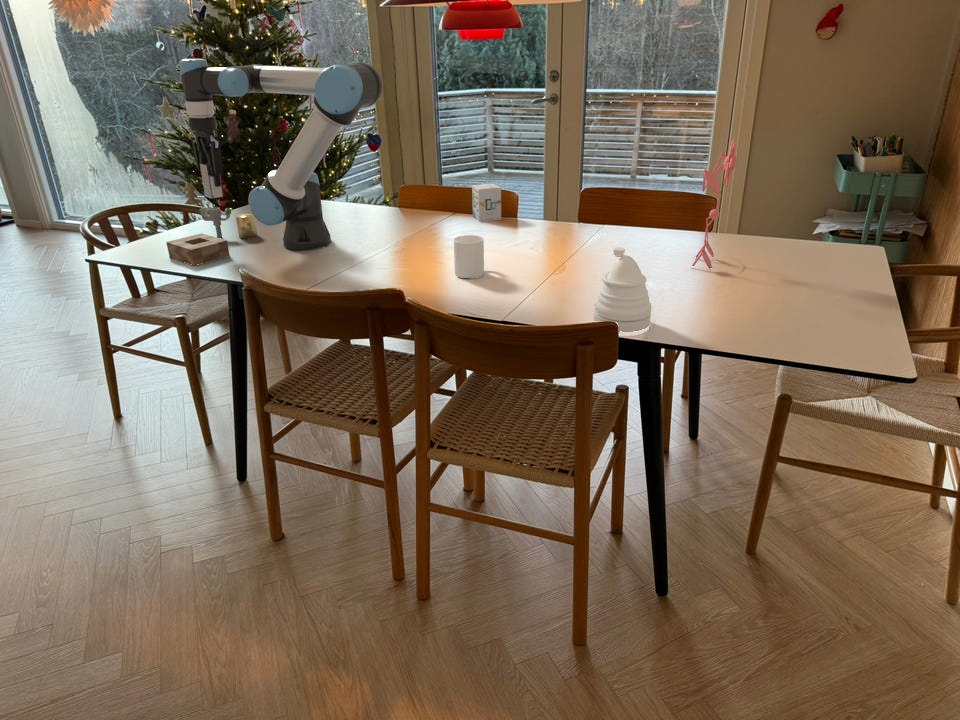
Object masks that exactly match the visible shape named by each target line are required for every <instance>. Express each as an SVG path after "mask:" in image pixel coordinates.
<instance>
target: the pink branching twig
mask: <svg viewBox="0 0 960 720" xmlns="http://www.w3.org/2000/svg"><path fill="white" fill-rule="evenodd" d="M736 150H737V140H735V138H733V139H732V140H731V143H730V145H729V150H728V155H726V154H725V153H724V151H721V152H720V155H719V157H718V159H717V162H716V163H715V166H714V168H713V170H712V172H711V171H709V170H708V169H707V168H704V170H703V179H702V189H701V190H702V192H703V193H704V192H705V190H706V189H707V186H709V188H710V190H713V192H714V193H716V194H717V195H718V197H717V203H716V207H715V208H712V209H711V210H710V211H709V214H708V215H709V217H707V218H706V227H705V230H704V231H705V234H704V240H703V245H702V247H700V250H699V251H698V253H697V254H696V255H695V257H697V258H696V259H695V260H694V262H693V263H692V265H691V266H694V267H695V265H696V264H697V262H698V261H699V260H700V259H701V257H702V258H703V261H704V262H705V264H706V266H707V267H708V269H709V270H710V268H712V269H713V265H712V261H711V259H710V257H714V258H715V254H714V251H713V248H712V247H711V245H710V243H709V230H708V229H709V226H710V225H711V224H712V222H713V221H714V220H716V219H718V218H719V217H720V211H719V210H718V209H719V205H720V201H721V198H722V192H721V190H720V185H719V184H720V183H719V182H718V179H717V178H716V175H717V174H718V173H719V172H720V170H721V169H722V168H723V170H724V175H723V176H724V177H723V185H724V186H725V187H726V188H728V186H729V184H730V179H731V174H732V172H733V171H734V170H735V168H736V165H737V160H738V157H737V156H736V155H735V154H736ZM721 159H723V160H724V161H723V163H721V165H720V166H719V163H720V161H721ZM718 166H719V167H718ZM710 219H711V220H710ZM709 220H710V222H709ZM706 250H707V251H706ZM708 253H709V255H710V257H709V255H708Z"/></svg>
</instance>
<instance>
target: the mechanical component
mask: <svg viewBox="0 0 960 720" xmlns="http://www.w3.org/2000/svg"><path fill="white" fill-rule="evenodd" d="M198 214H200V216H201V219H202V220H203V221H205V222H206V221H207V222H212V223H213V224H212V225H213V226H214V227H215V232H216V238H221V239H223V235H222V234H223V232H222V228H221V226H222V222H221V221H223V222H225V221H228V220H229V219H230V217H231V214H232V209H231V208H228V207H226V208H225V209H224V212H222V210H220V207H203V208H199V210H198ZM222 216H226V217H222Z"/></svg>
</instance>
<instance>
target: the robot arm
mask: <svg viewBox="0 0 960 720" xmlns="http://www.w3.org/2000/svg"><path fill="white" fill-rule="evenodd" d="M179 72H180V73H179V74H180V75H179V76H180V79H181V83H182V89H183V93H184V94H183V95H184V102H185V108H186V114H187V116H189V117H188V119H187V120H188V126H189V129H190V131H192V132H194V136H193V135H192V136H190V141H191V144H192V149H193V153H194V159H195V164H196V169H197V171H200V173H201V168H200V163H206V162H208V163H209V167H210V171H211V174H210V175H209V176H210V179H211V185H212V192H213V199H218V198H223V197H222V196H223V195H224V194H223V195H222V188H223V187H222V188H221V182H222V181H221V182H220V175H223V174H224V167H223V166H224V165H223V157H222V150H221V145H222V143H221V140H220V139H219V140H216V138H215V135H214V134H215V133H214V131H216V130H217V128H218V127H217V119H216V116H214V114H215V107H214V106H215V103H214V101H213V100H214V99H213V96H221V97H230V98H235V97H236V98H237V97H244V96H245V95H246V94H251V93H252V94H253V93H261V94H262V93H263V94H264V93H265V94H268V93H269V94H282V95H283V94H285V95H286V94H287V95H305V96H313V98H312V103H313V106H314V108H313V110H312V111H311V112H310V115H309V116H308V118H307V120H306V121H305V123H304V124H303V126H302V128H301V129H300V132H299V133H298V135H297V136H296V138H295V140H294V141H293V143H292V145H291V146H290V147H289V149H288V151H287V153H286V155H285V156H284V158H283V160H282V161H281V163H280V165H279V166H278V168H277V169H272V170H271V171H270V172H268V174H267V175H266V177H265V178H264V181H263V183H262V184H260V186H259V185H258V186H255V187H254V188H253V189H252V190H250V192H249V194H248V202H247V203H248V207H249V209H250V212H251V214H253V215H254V217H255V220H257V221H258V222H259V223H261V224H263V225H265V226H269V227H271V226H276V225H280V224H282V223H284V222H285V226H284V230H283V231H284V232H283V237H282V242H283V243H282V244H283V247H284V248H285V249H287V250H292V251H293V250H295V251H310V250H311V251H312V250H316V249H320V248H325V247H328V246H329V245H331V243H332V239H331V237H332V236H331V233H330V232H329V229H328V226H327V225H326V222H325V219H324V216H323V215H324V214H323V207H322V206H323V205H322V199H321V198H322V197H321V188H320V186H321V184H320V182H319V181H320V180H319V177H318V174H317V173H316V172H314V171H315V170H316V168H317V167H318V165H319V163H320V161H321V160H322V159H323V157H324V155H326V152H327V151H328V149H329V147H330V146H331V144H333V143H332V142H333V141H334V140H335V138H336V137H337V135H338V133H339V131H340V130H341V129H342V128H343V127H347V126H348V127H349V126H350V125H351V124H352V123H353V121H354V119H355V118H356V116H357V114H358V113H359V111H360V110H362V109H365V108H366V109H367V108H370V107H372V106H373V105H375V104H377V103H378V101H379V100H380V99H381V97H382V94H383V91H384V83H383V79H382V78H383V77H382V76H381V74H380V72H379V71H378V70H377V69H376V68H375V67H374V66H373V65H371V64H369V63H367V62H366V63H365V62H353V63H346V64H345V63H336V64H333V65H331V66H328V67H313V66H311V67H308V66H283V65H282V66H281V65H263V64H259V63H257V64H248V65H238V66H237V65H235V66H227V67H226V66H225V67H217V66H215V67H211V66H209V65H208V62H207V60H206V59H205V58H183V59H181V60H180V61H179ZM217 197H218V198H217Z"/></svg>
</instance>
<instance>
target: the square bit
mask: <svg viewBox="0 0 960 720" xmlns="http://www.w3.org/2000/svg"><path fill="white" fill-rule="evenodd" d="M200 168H201V172H200V174H201V179H202V185H203V191H204V197H206V198H209V199H212V200H213V199H214V198H213V192H212V185H211V179H210V176H209V175H210V174H211V171H210V167H209V163H208V162H206V163H200ZM221 175H222V174H221ZM221 175H220V182H221V188H222V195H223V196H222V197H221V198H223V197H224V196H225V195H224V190H223V188H224V187H223V184H222V183H223V181H222V176H221ZM218 198H219V197H217V198H216V199H218Z"/></svg>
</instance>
